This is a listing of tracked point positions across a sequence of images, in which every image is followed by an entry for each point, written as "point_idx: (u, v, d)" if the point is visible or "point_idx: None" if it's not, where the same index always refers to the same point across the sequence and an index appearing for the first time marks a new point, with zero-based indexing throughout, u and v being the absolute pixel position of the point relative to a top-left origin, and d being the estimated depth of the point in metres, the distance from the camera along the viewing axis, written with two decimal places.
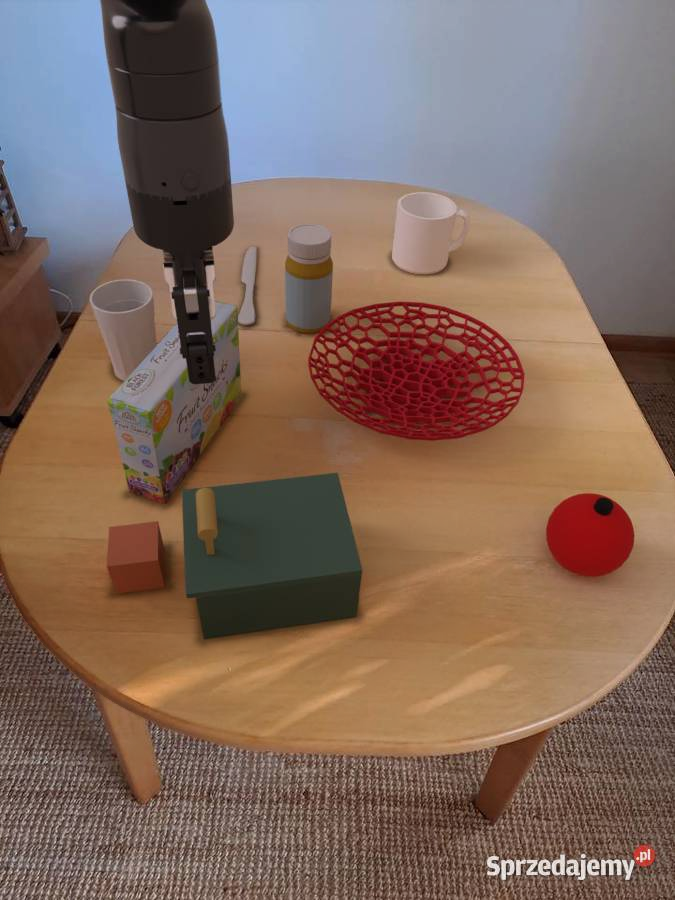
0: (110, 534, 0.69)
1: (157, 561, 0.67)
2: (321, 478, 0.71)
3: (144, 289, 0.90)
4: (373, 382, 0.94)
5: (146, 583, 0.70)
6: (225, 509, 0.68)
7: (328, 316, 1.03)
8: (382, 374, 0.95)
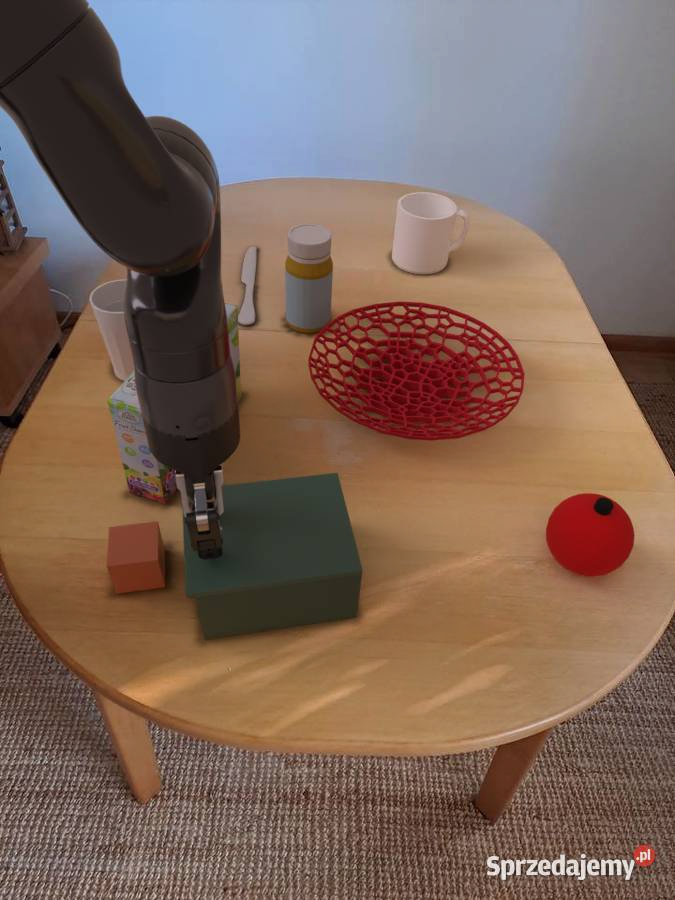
0: (110, 534, 0.69)
1: (157, 561, 0.67)
2: (321, 478, 0.71)
3: None
4: (373, 382, 0.94)
5: (146, 583, 0.70)
6: (225, 509, 0.68)
7: (328, 316, 1.03)
8: (382, 374, 0.95)
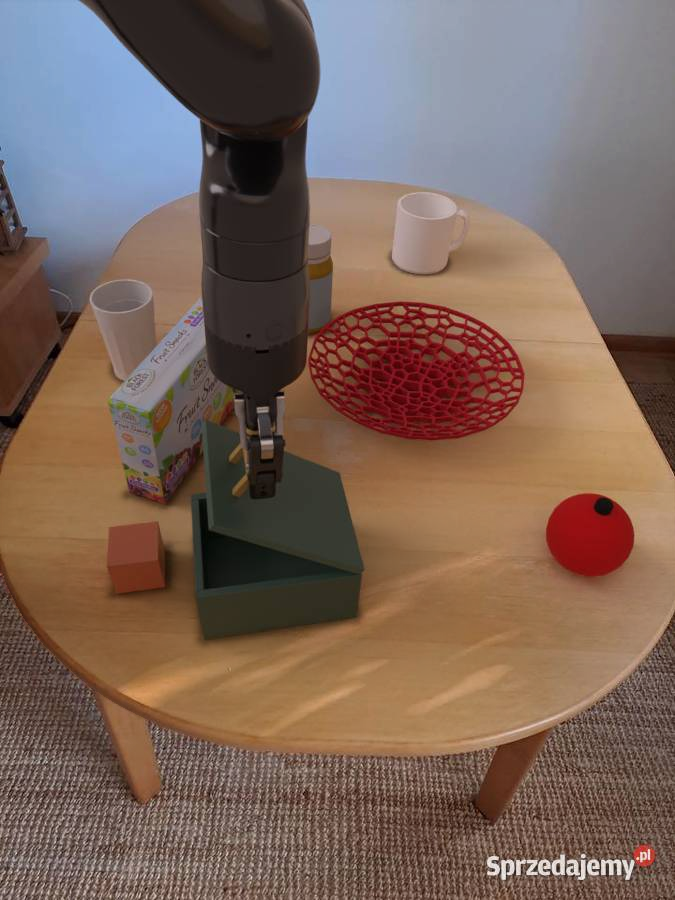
0: (110, 534, 0.69)
1: (157, 561, 0.67)
2: (327, 471, 0.70)
3: (144, 289, 0.90)
4: (373, 382, 0.94)
5: (146, 583, 0.70)
6: None
7: (328, 316, 1.03)
8: (382, 374, 0.95)
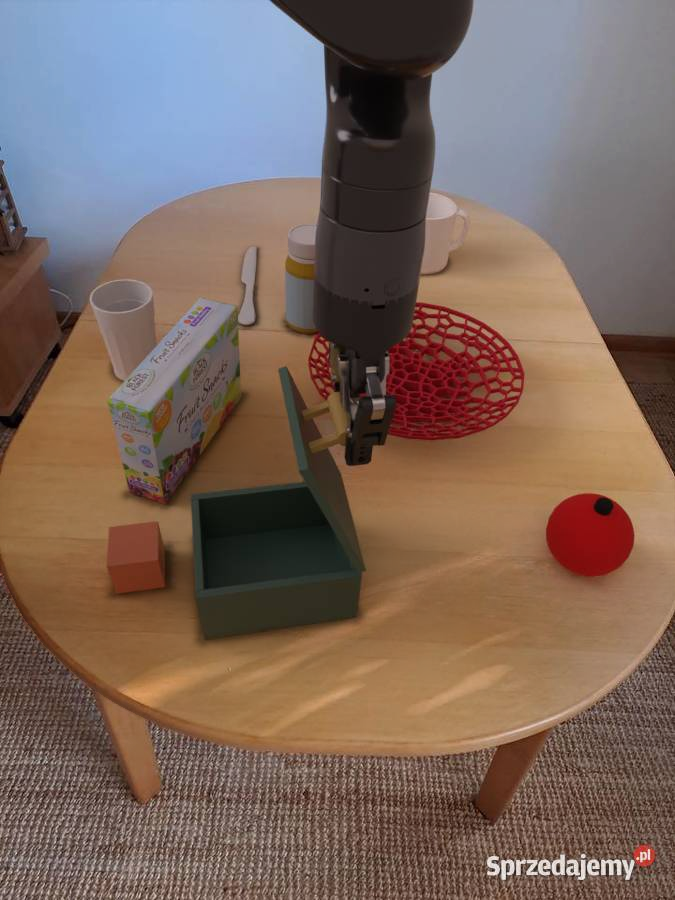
0: (110, 534, 0.69)
1: (157, 561, 0.67)
2: (336, 467, 0.70)
3: (144, 289, 0.90)
4: None
5: (146, 583, 0.70)
6: (308, 421, 0.61)
7: None
8: None
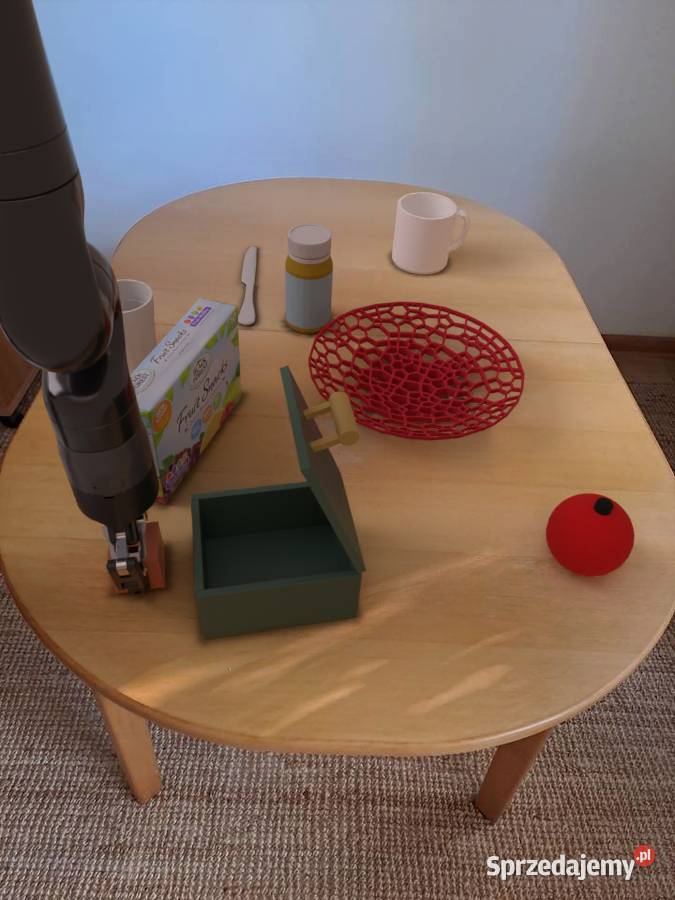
0: None
1: (157, 561, 0.67)
2: (337, 467, 0.70)
3: (144, 289, 0.90)
4: (373, 382, 0.94)
5: None
6: (309, 421, 0.61)
7: (328, 316, 1.03)
8: (382, 374, 0.95)
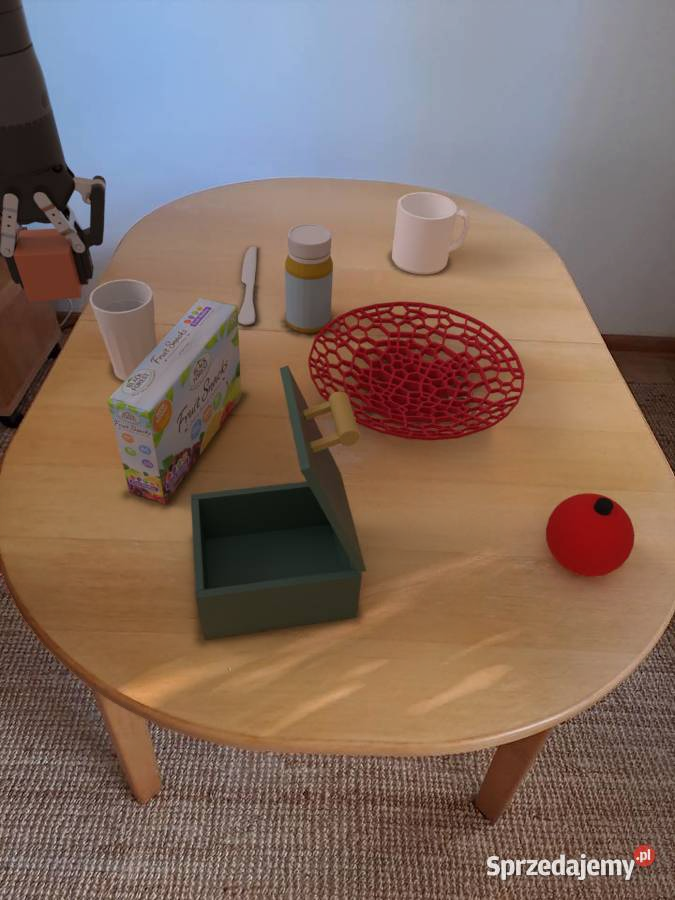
0: None
1: (14, 257, 0.63)
2: (337, 467, 0.70)
3: (144, 289, 0.90)
4: (373, 382, 0.94)
5: None
6: (309, 421, 0.61)
7: (328, 316, 1.03)
8: (382, 374, 0.95)
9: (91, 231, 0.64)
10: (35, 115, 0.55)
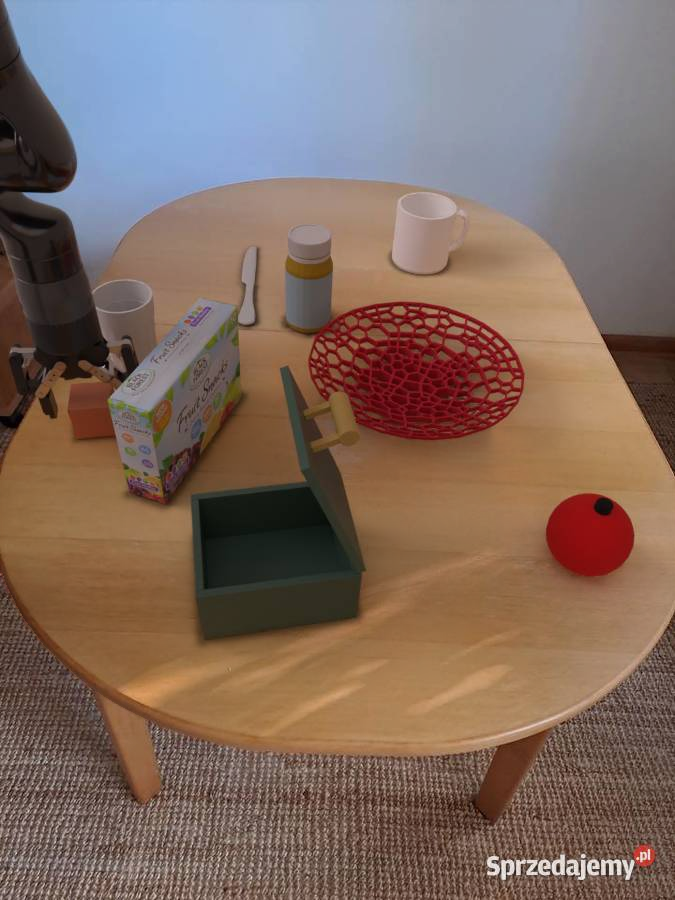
0: (102, 382, 0.86)
1: None
2: (337, 467, 0.70)
3: (144, 289, 0.90)
4: (373, 382, 0.94)
5: None
6: (309, 421, 0.61)
7: (328, 316, 1.03)
8: (382, 374, 0.95)
9: None
10: (83, 313, 0.73)
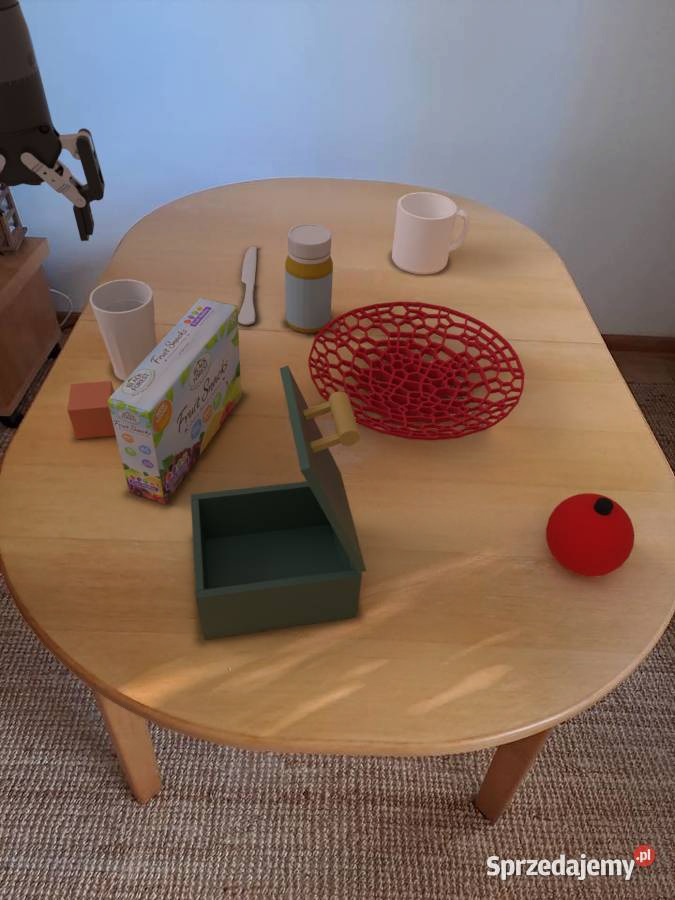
0: (102, 382, 0.86)
1: None
2: (337, 467, 0.70)
3: (144, 289, 0.90)
4: (373, 382, 0.94)
5: None
6: (309, 421, 0.61)
7: (328, 316, 1.03)
8: (382, 374, 0.95)
9: (89, 186, 0.65)
10: (21, 73, 0.56)
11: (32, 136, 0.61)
